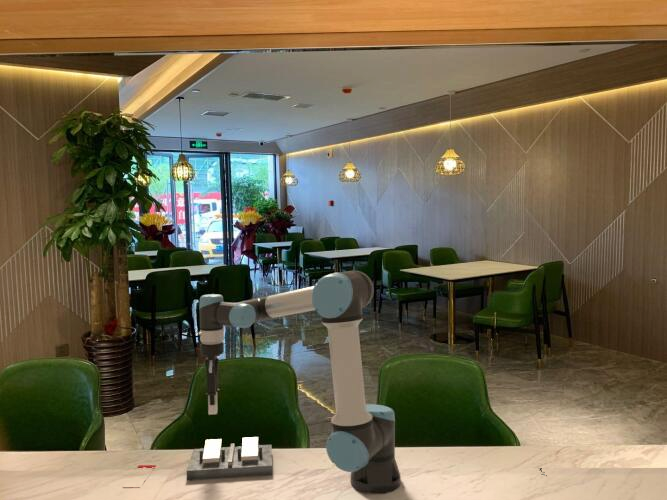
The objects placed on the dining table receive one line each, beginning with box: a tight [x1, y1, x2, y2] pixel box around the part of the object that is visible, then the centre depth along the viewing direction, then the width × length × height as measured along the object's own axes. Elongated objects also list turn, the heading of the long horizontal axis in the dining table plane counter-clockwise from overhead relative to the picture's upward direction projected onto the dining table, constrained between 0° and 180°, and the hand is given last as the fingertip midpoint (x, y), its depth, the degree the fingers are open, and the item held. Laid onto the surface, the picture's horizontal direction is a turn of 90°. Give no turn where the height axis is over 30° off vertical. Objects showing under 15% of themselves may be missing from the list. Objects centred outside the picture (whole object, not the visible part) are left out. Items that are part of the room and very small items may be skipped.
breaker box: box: [186, 443, 273, 481], centre depth 172 cm, size 16×26×6 cm, turn 97°
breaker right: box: [241, 436, 259, 461], centre depth 173 cm, size 10×5×2 cm, turn 7°
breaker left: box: [203, 438, 223, 463], centre depth 171 cm, size 10×5×2 cm, turn 7°
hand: (213, 412), depth 175 cm, fingers closed
